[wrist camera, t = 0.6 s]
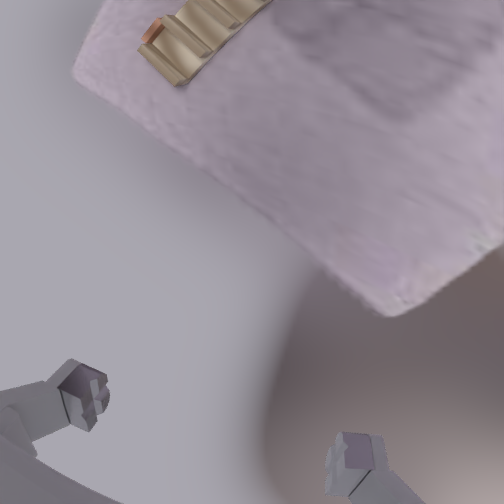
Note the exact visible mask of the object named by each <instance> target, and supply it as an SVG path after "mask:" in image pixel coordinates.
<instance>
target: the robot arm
mask: <svg viewBox="0 0 504 504" xmlns="http://www.w3.org/2000/svg"><path fill="white" fill-rule="evenodd" d="M107 382H108V379H107V375H106V374H105V373H103V372H100V371H98V370H96V369H94V368H92V367H89V366H87V365H85V364H83V363H80V362H78V361H76V360H74V359H69V360H67V361H66V362H65V363H64V364H63V365H62V366H61V367H60V368H59V369H58V370H57V371H56V372H55V373H54V374H53V375H52V376H51V377H50V378H49V379H48V380H47V381H46V382H44V381H39V382H35V383H31V384H28V385H24V386H20V387H16V388H12V389H8V390H3V391H0V504H122V503H120V502H118V501H115V500H113V499H111V498H108V497H106V496H104V495H102V494H100V493H98V492H96V491H94V490H91V489H89V488H87V487H85V486H83V485H81V484H80V483H78V482H76V481H74V480H72V479H70V478H68V477H66V476H65V475H63V474H61V473H59V472H58V471H56V470H54V469H52V468H51V467H49V466H47V465H46V464H44V463H43V462H41V461H39V460H38V459H36V458H35V457H36V456H37V451H36V450H35V448H34V446H33V444H32V442H33V441H35V440H37V439H40V438H42V437H44V436H46V435H48V434H51V433H53V432H55V431H57V430H59V429H62V428H64V427H66V426H68V425H69V423H70V424H72V425H74V426H76V427H78V428H80V429H83V430H85V431H87V432H90V431H91V429H92V428H93V426H94V425H95V424H96V422H97V415H99V414H101V413H103V412H104V411H105V409H106V407H107V406H108V403H109V398H110V393H109V389H108V388H107V387H106V383H107ZM325 470H326V471H327V473H328V474H329V475H328V477H327V478H326V480H325V495H331V496H344V497H349V500H350V501H351V503H352V504H426V503H424V501H423V500H422V499H421V498H420V497H419V496H418V495H417V494H415V492H414V491H413V490H412V489H411V488H410V487H409V486H408V485H407V484H406V483H405V482H404V481H403V480H402V479H401V478H400V477H399V476H398V475H397V474H396V473H395V472H394V471H390V470H389V465H388V459H387V454H386V449H385V444H384V439H383V437H382V435H374V434H361V433H349V432H340V433H338V435H337V437H336V444H334V445H332V446H331V447H330V449H329V451H328V454H327V457H326V462H325Z"/></svg>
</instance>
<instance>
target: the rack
mask: <svg viewBox="0 0 504 504" xmlns="http://www.w3.org/2000/svg"><path fill="white" fill-rule="evenodd" d="M271 1H272V0H188V1H187V2H186V4H185V5H184V6H183V7H182V8H181V9H180V10H179V11H178V13H177V14H176V15H175V16H173V15H164V17H163V18H157V19H156V20H155V21H154V22H153V24H152V25H151V26H150V28H149V29H148V30H147V31H146V33H145V34H144V35H143V37H142V38H141V39H142V40H143V41H144V42H145V43H149V44H142V45H141V46H140V47H139V49H138V50H137V51H138V52H139V53H140V54H141V55H142V56H143V57H144V58H146V59H147V60H148V61H149V62H150V63H151V64H152V65H153V66H154V67H155V68H156V69H157V70H158V71H159V72H160V73H161V74H162V75H163V76H164V77H165V78H166V79H167V80H168V81H169V82H170V83H171V84H172V85H173V86H174V87H175V86H179V85H184V84H188V83H189V81H190V80H191V79H192V78H193V77H194V76H195V75H196V74H197V73H198V71H199V70H200V69H201V68H202V67H203V66H204V65H205V64H206V63H207V62H208V61H209V60H210V59H211V58H212V56H213V55H214V54H215V53H216V52H217V51H218V50H219V49H220V48H221V47H222V46H223V45H224V44H225V43H226V42H227V41H228V40H229V39H230V38H231V37H232V36H233V35H234V34H235V33H236V32H237V31H239V30H240V29H241V28H242V27H243V26H244V25H245V24H246V23H247V22H248V21H249V20H250V19H251V18H252V17H254V16H255V15H256V14H257V13H258V12H259V11H260V10H261V9H262V8H264V7H265V6H266V5H267V4H268V3H269V2H271Z"/></svg>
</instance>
